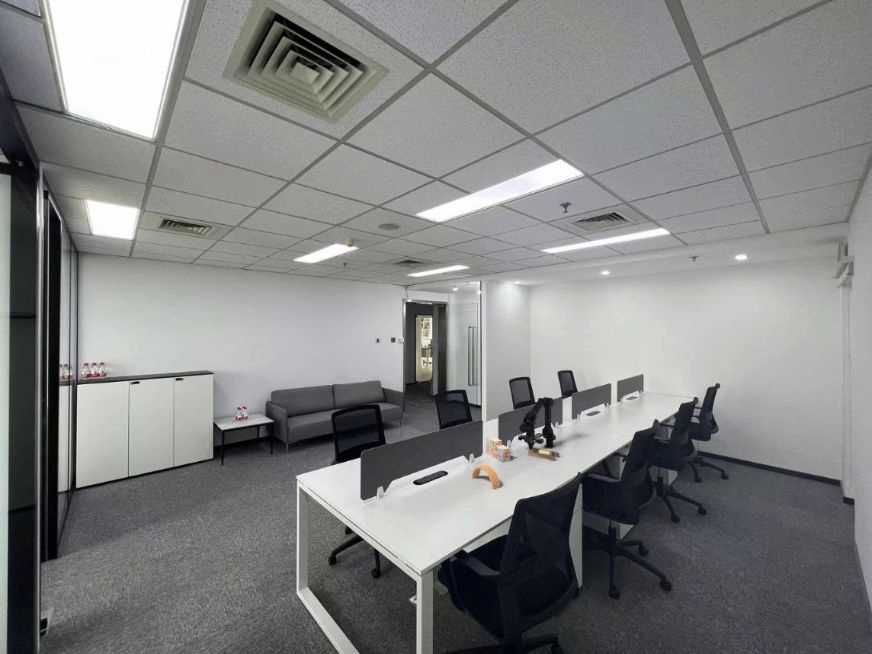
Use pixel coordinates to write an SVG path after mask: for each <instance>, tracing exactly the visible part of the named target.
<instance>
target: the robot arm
mask: <svg viewBox="0 0 872 654" xmlns="http://www.w3.org/2000/svg"><path fill="white" fill-rule="evenodd" d="M554 402H555V401H554V399H553V397H547V396H544V397H539V398H538V399H537V401H536V402H535V404H534V406H533V407H532V408H531V410H529V411H528V412H526V413H525V415H524V418H523V419H522V420H523V421H522V423H521V425H519V427H518V429H519V432H521V433H525V434H520V435H519V436H518V437H517V440H518V441H524V442H525V443H527V445H528V448H529V449H528V450H529V451H533V448H534V446H535V444H539V445H542V444H544V443H545V445H544V448H548V449H553V448H554V447H556V445H554V441H555V440H556V439H557V436H556V435H555V434H554V430H553V427H552V408H553V407H554ZM542 407H544V427H543V428H542V429H541V435H542V437H543V438H542V437H538V438H536V435H535V434H536V431H535V425H536V424H537V422H536V420H537V418H538V413H539V412H540V410H541V409H542Z"/></svg>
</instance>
